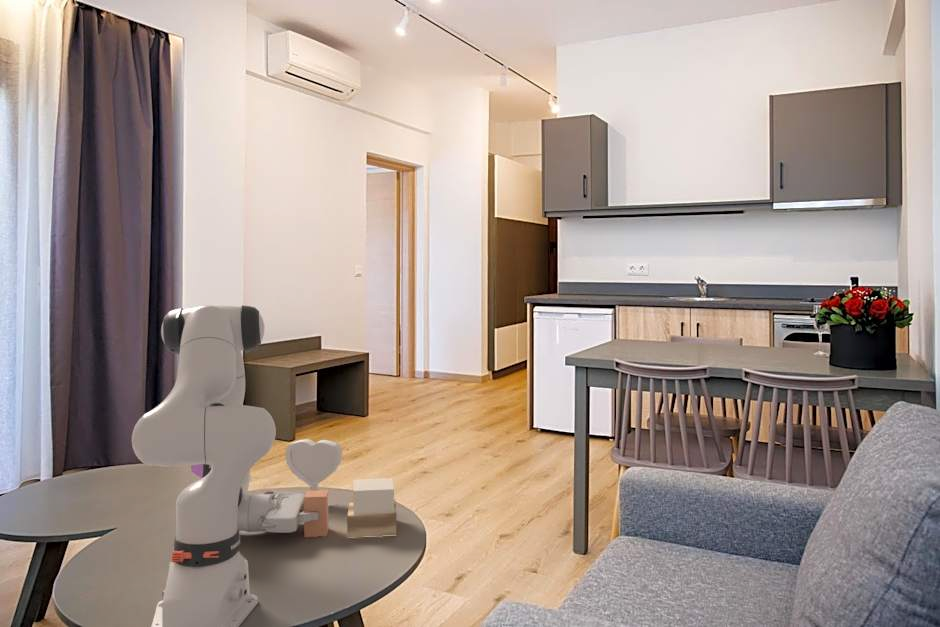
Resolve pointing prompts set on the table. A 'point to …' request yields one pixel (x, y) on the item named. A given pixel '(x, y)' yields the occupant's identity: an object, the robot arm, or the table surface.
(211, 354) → the robot arm
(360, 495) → the tower top
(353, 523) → the tower base
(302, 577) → the table surface
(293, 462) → the heart sculpture
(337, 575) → the table surface
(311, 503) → the terracotta block
